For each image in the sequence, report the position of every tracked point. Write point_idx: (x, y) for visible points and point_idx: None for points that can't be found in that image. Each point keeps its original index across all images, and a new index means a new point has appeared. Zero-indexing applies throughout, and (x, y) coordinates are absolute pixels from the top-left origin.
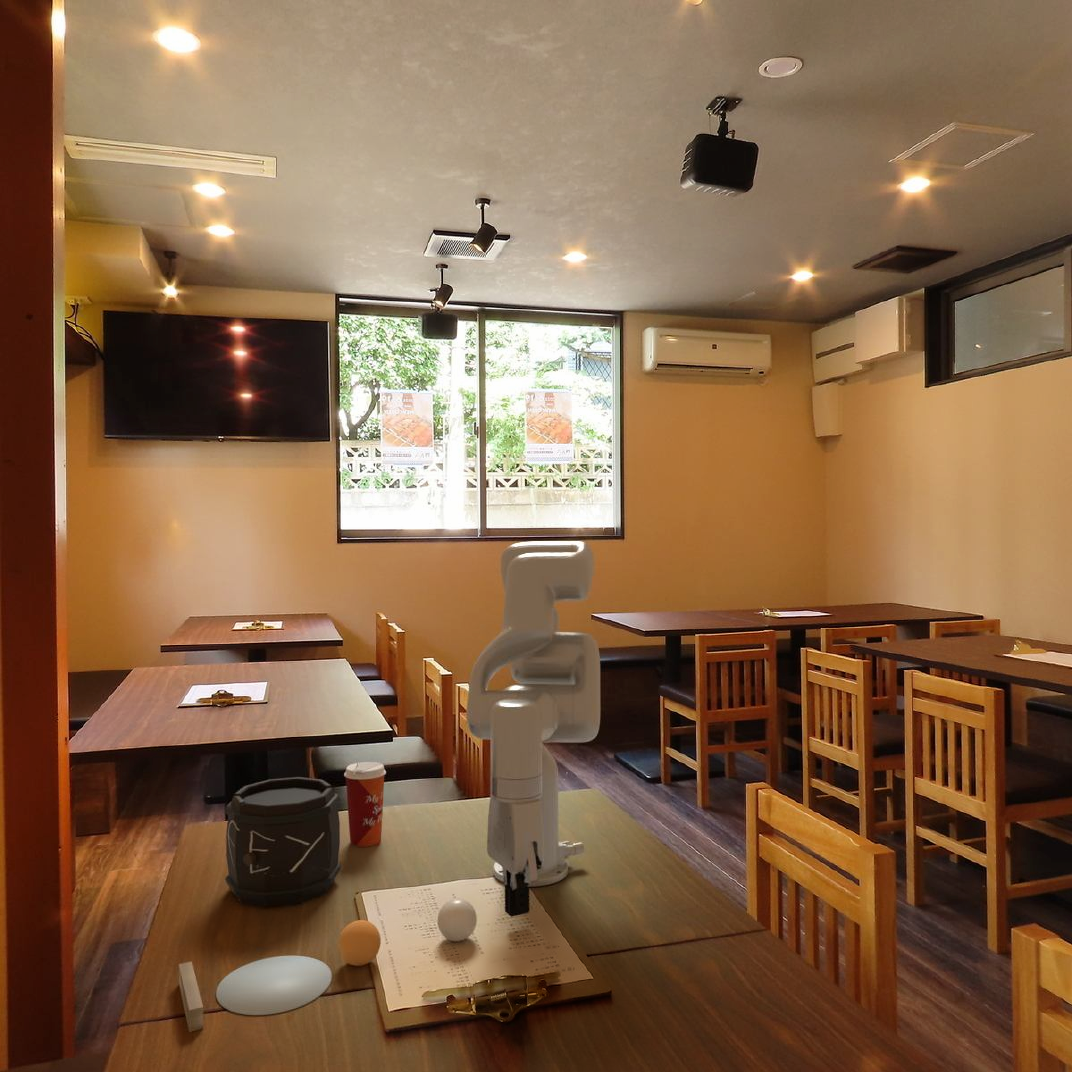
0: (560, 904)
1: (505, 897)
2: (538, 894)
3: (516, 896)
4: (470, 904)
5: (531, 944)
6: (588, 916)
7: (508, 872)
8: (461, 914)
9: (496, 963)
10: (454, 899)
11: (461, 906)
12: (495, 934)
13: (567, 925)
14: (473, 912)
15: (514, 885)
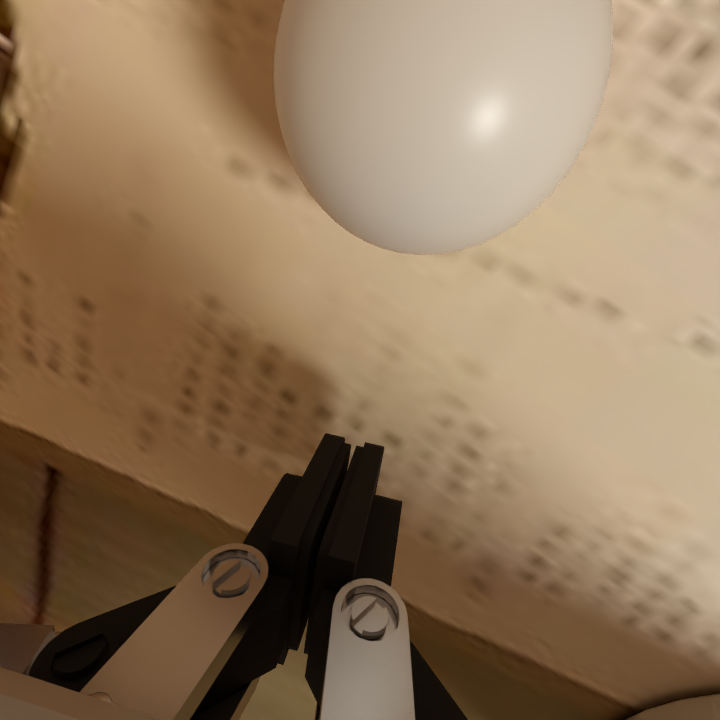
0: None
1: (361, 496)
2: (549, 682)
3: (255, 525)
4: (363, 192)
5: (197, 387)
6: None
7: (322, 696)
8: (280, 25)
9: (120, 166)
10: (474, 21)
11: (317, 41)
12: (356, 328)
13: None
14: (307, 183)
15: (191, 574)
